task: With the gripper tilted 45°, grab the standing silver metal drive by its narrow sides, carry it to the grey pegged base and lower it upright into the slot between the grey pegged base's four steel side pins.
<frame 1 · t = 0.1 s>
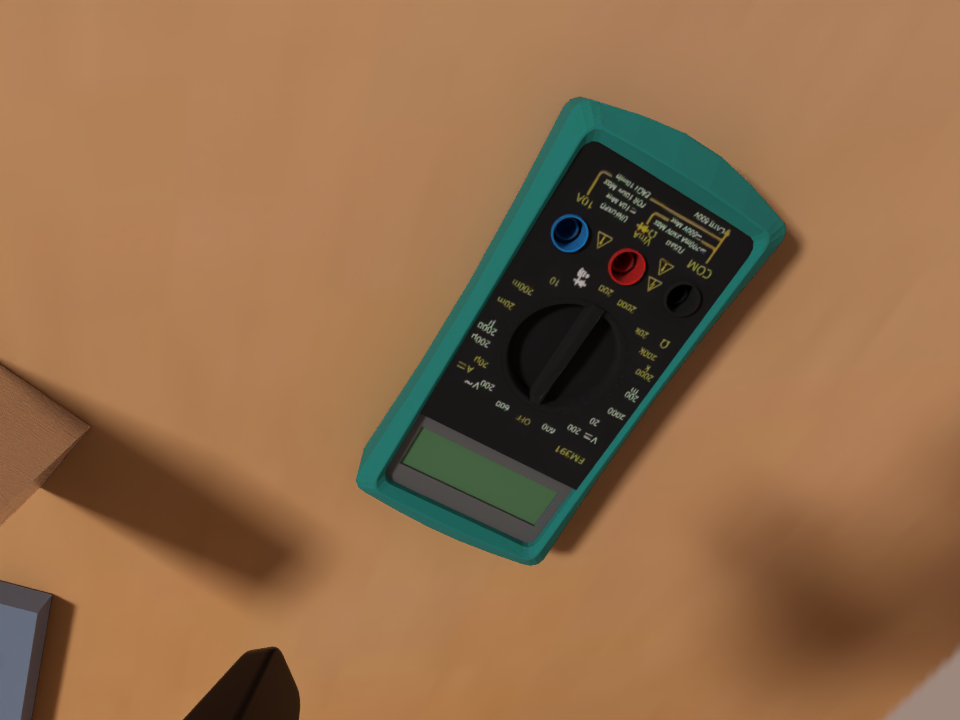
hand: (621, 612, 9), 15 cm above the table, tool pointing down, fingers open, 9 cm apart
digital multimeter: (547, 337, 24), on the table
drive: (7, 419, 24), on the table
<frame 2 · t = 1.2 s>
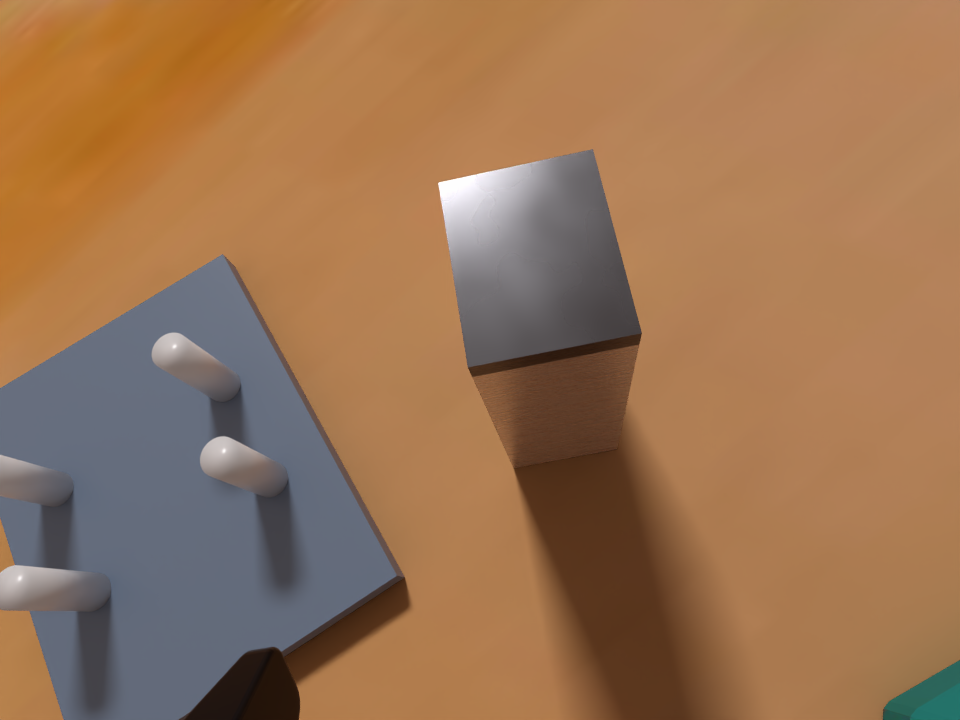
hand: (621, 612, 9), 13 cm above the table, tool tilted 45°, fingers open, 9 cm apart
drive: (552, 395, 24), on the table
grey pegged base: (177, 489, 24), on the table
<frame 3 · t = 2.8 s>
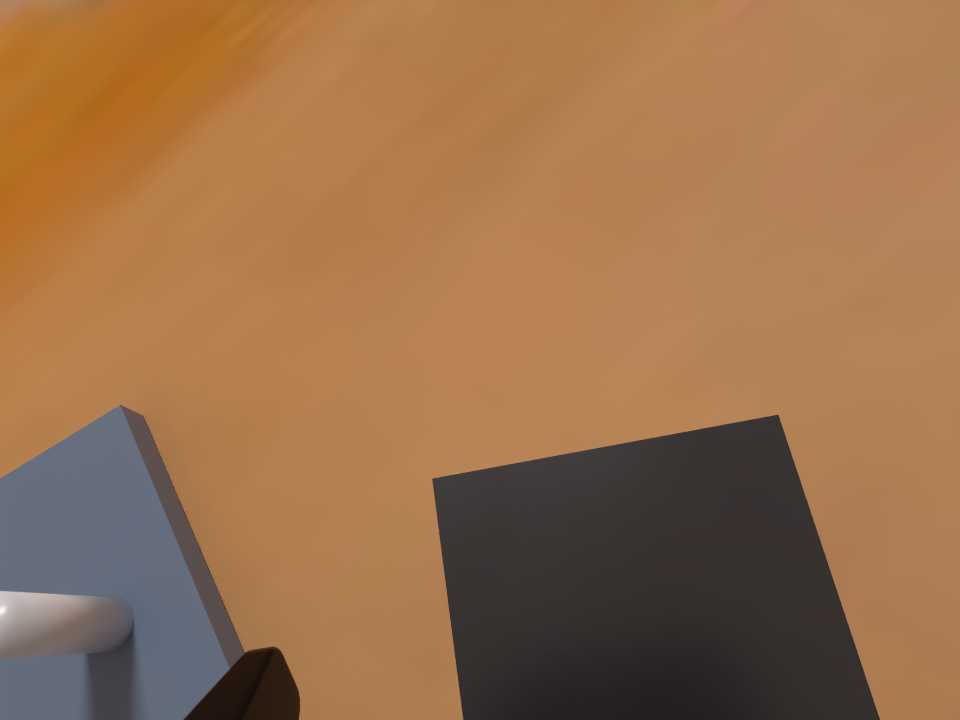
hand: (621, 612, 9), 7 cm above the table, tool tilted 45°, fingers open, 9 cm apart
drive: (612, 650, 15), on the table
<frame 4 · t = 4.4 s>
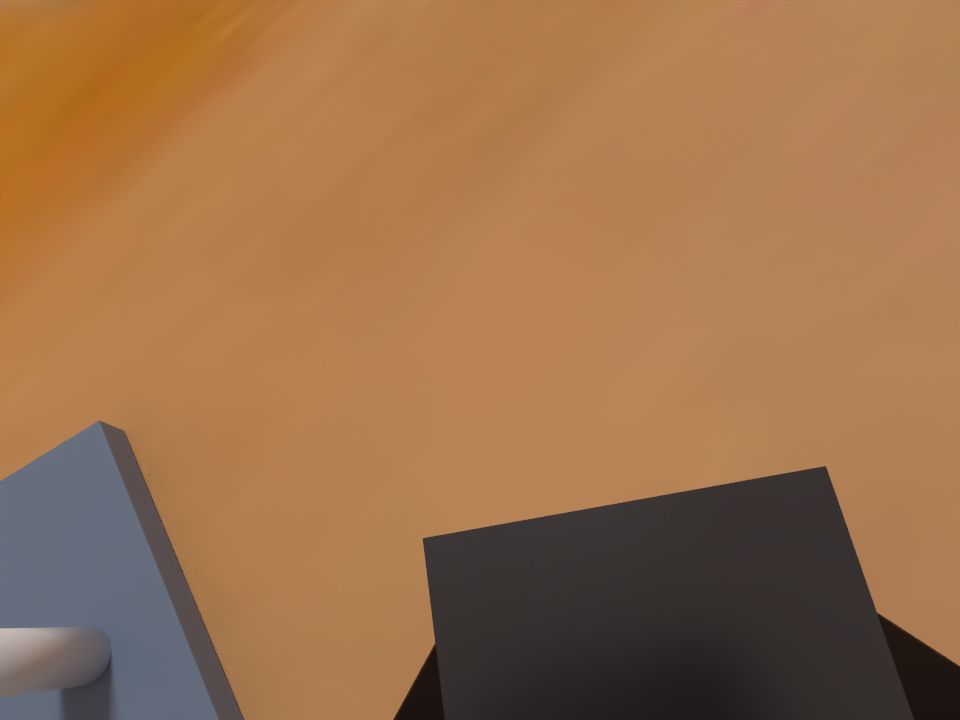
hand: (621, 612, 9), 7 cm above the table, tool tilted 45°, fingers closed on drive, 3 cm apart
drive: (619, 684, 14), on the table, touching gripper
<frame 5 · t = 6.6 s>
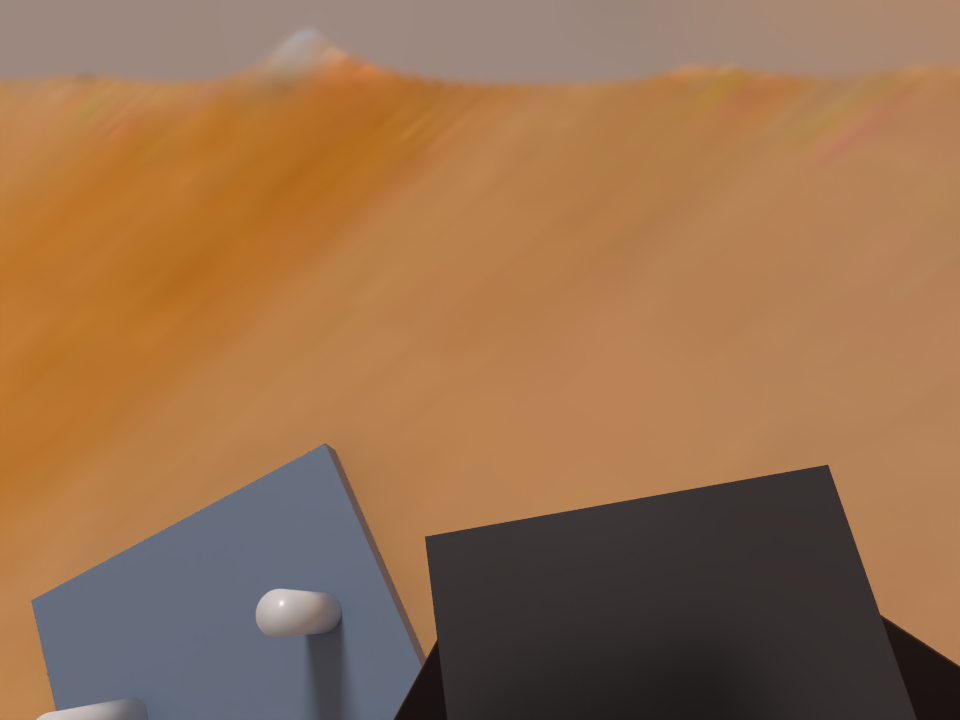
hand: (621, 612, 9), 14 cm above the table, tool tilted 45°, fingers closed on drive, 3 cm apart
drive: (620, 683, 14), point 7 cm above the table, touching gripper
when the fingers open (9 cm above the table, at t = 9.2 s): drive drops 1 cm, resting on grey pegged base.
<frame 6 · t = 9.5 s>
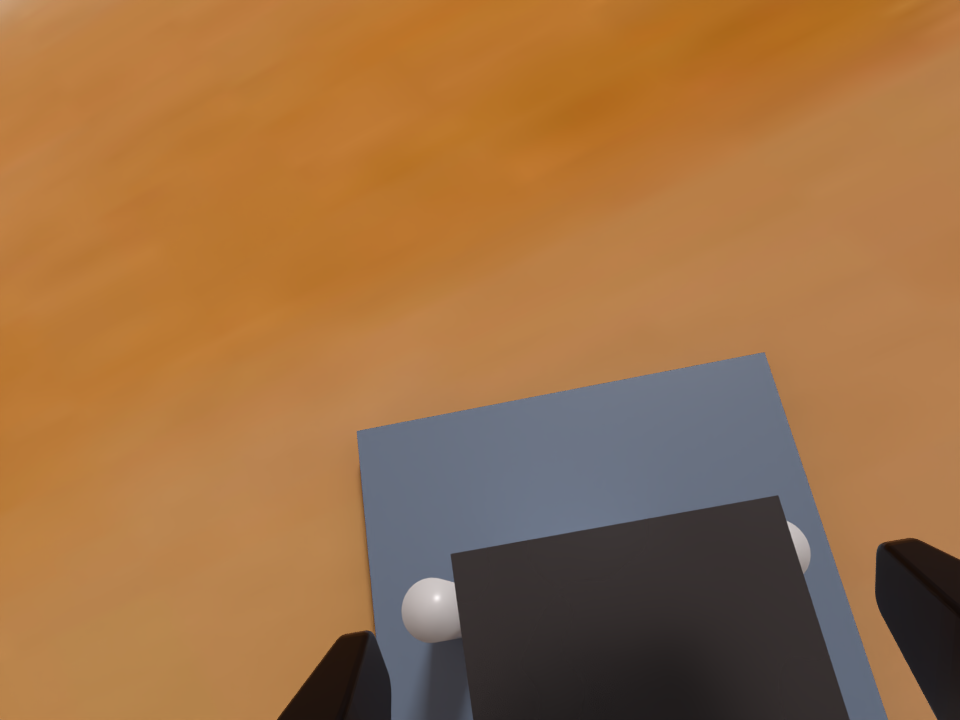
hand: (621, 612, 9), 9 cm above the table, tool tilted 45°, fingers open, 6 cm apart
drive: (615, 677, 16), point 1 cm above the table, touching grey pegged base
grey pegged base: (614, 674, 17), on the table
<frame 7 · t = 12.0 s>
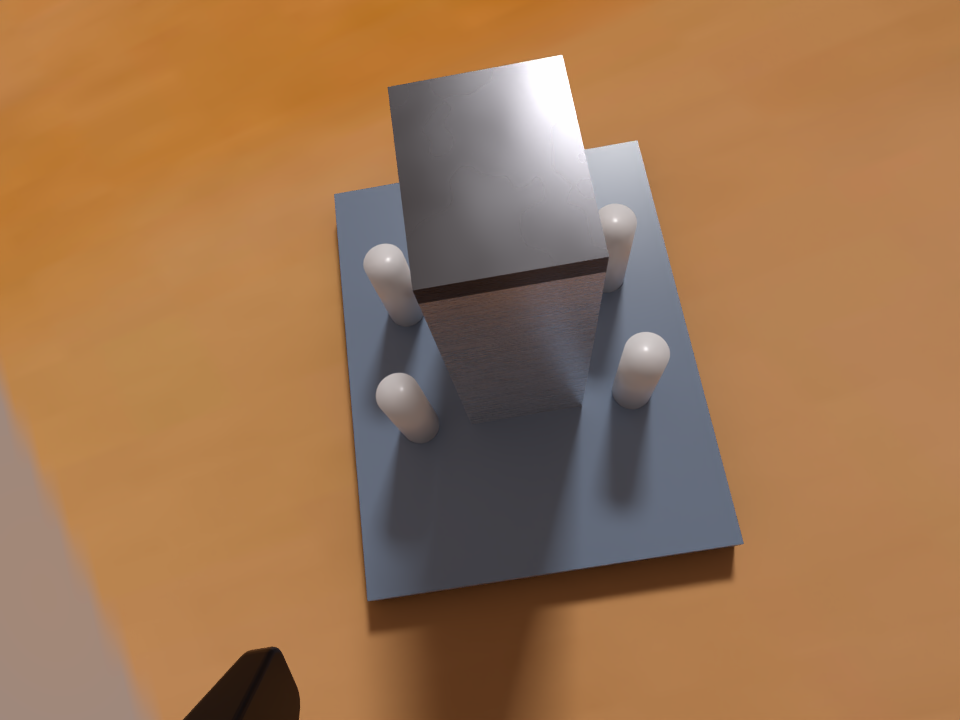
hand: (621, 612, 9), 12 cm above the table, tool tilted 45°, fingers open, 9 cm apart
drive: (515, 348, 22), point 1 cm above the table, touching grey pegged base
grey pegged base: (516, 358, 23), on the table
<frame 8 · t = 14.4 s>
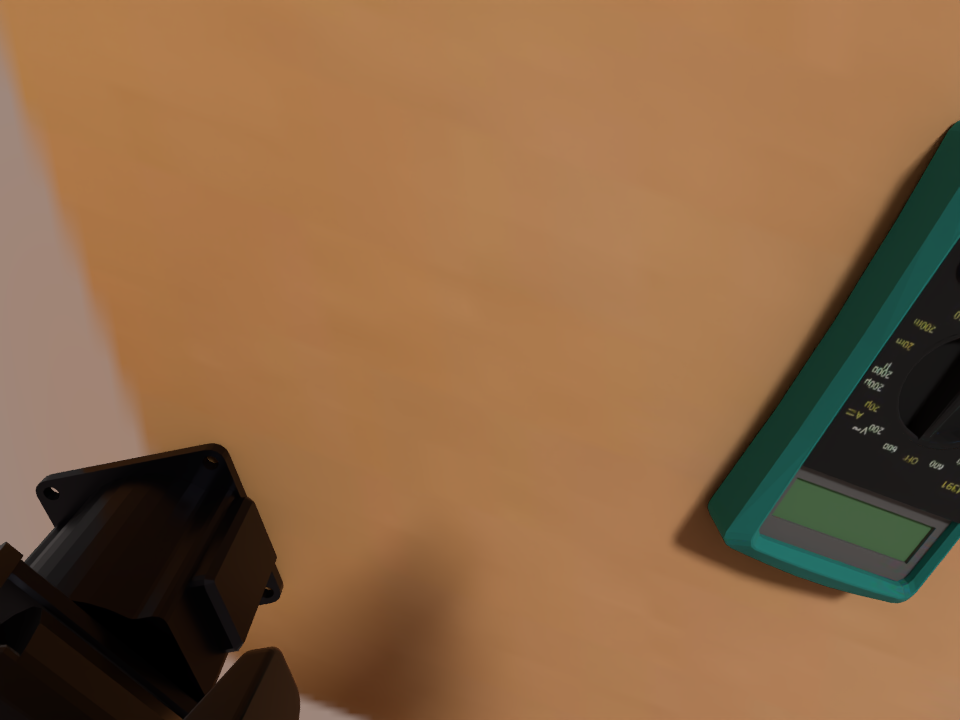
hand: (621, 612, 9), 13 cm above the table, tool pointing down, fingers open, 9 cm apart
digital multimeter: (899, 366, 23), on the table
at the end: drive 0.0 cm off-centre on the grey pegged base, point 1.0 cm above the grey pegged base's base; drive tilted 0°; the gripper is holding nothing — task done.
